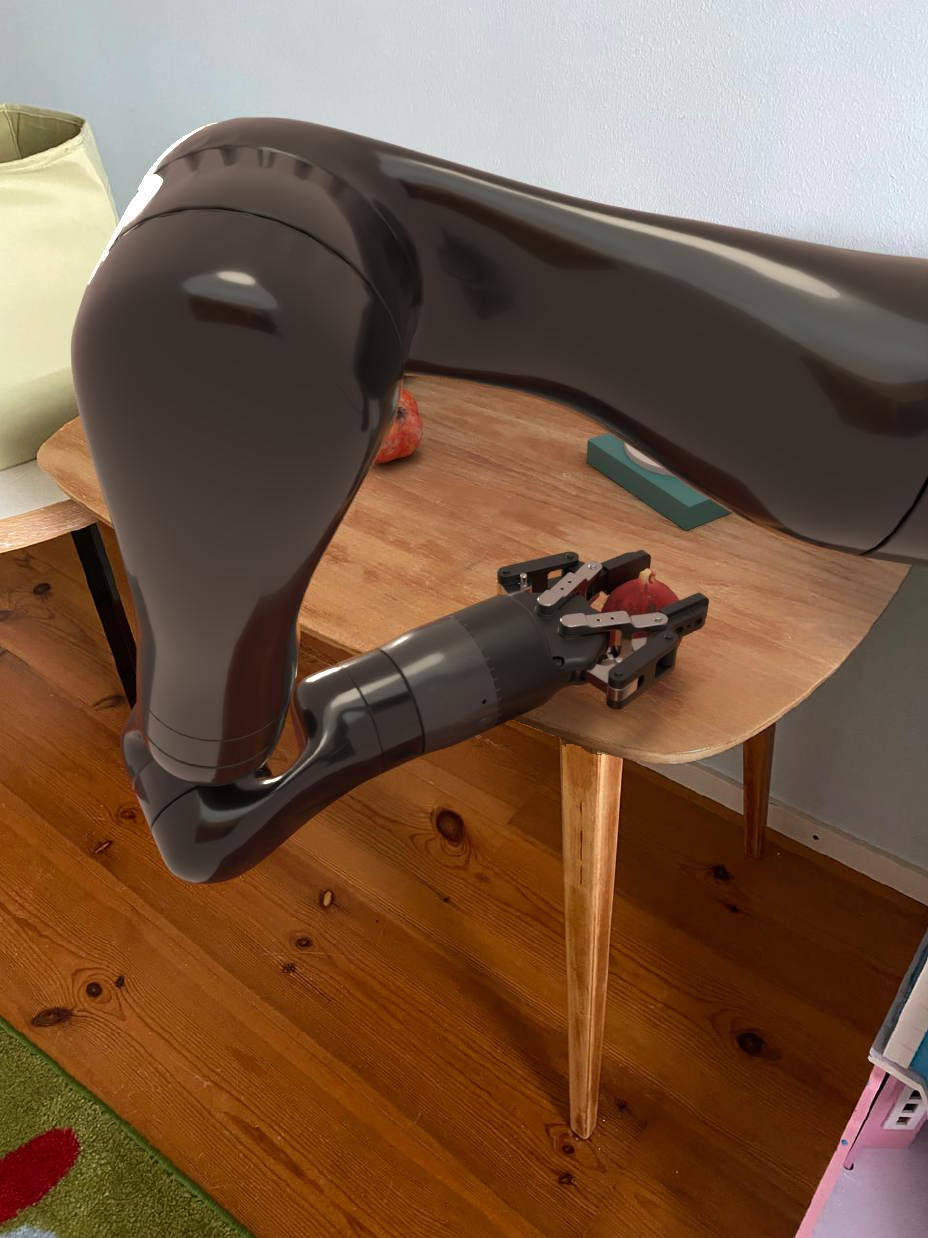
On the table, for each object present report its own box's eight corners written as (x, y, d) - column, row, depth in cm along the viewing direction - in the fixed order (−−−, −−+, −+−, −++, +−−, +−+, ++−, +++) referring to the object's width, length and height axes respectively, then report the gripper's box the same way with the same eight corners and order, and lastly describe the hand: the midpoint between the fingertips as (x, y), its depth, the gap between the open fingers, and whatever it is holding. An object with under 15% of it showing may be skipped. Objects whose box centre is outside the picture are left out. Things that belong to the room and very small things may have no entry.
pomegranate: (338, 476, 96) (363, 456, 87) (325, 402, 96) (348, 374, 86) (410, 467, 98) (442, 447, 89) (398, 395, 98) (428, 367, 89)
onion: (684, 692, 67) (698, 599, 62) (600, 692, 68) (607, 600, 62) (672, 637, 72) (684, 547, 67) (593, 638, 72) (599, 548, 67)
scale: (790, 489, 87) (796, 458, 85) (686, 531, 83) (690, 499, 81) (684, 427, 97) (688, 398, 95) (586, 462, 92) (587, 432, 90)
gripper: (526, 697, 53) (759, 592, 60) (401, 568, 63) (613, 490, 69) (526, 790, 58) (741, 684, 64) (409, 657, 68) (607, 576, 74)
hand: (673, 584), depth 67 cm, fingers closed on onion, 5 cm apart
